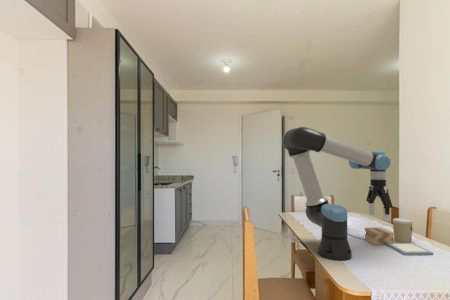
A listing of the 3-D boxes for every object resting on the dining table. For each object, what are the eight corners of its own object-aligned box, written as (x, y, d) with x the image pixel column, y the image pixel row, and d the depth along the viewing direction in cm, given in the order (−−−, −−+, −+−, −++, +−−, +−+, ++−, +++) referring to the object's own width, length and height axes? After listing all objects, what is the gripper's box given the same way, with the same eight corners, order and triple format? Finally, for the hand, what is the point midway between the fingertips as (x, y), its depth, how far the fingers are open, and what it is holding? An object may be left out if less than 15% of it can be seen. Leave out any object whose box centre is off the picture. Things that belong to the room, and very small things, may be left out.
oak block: (375, 246, 142) (374, 232, 142) (365, 240, 152) (364, 227, 152) (393, 245, 142) (393, 232, 142) (382, 239, 152) (382, 227, 152)
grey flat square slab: (404, 255, 128) (404, 252, 128) (386, 245, 142) (386, 243, 142) (433, 255, 128) (433, 252, 128) (412, 245, 142) (412, 242, 142)
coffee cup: (416, 245, 142) (416, 222, 143) (397, 243, 144) (396, 221, 144) (408, 239, 151) (407, 218, 152) (390, 238, 153) (389, 217, 154)
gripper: (399, 181, 135) (400, 223, 134) (372, 177, 160) (372, 212, 159) (385, 181, 135) (386, 223, 134) (359, 177, 160) (360, 212, 159)
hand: (378, 217), depth 147 cm, fingers open, 13 cm apart
